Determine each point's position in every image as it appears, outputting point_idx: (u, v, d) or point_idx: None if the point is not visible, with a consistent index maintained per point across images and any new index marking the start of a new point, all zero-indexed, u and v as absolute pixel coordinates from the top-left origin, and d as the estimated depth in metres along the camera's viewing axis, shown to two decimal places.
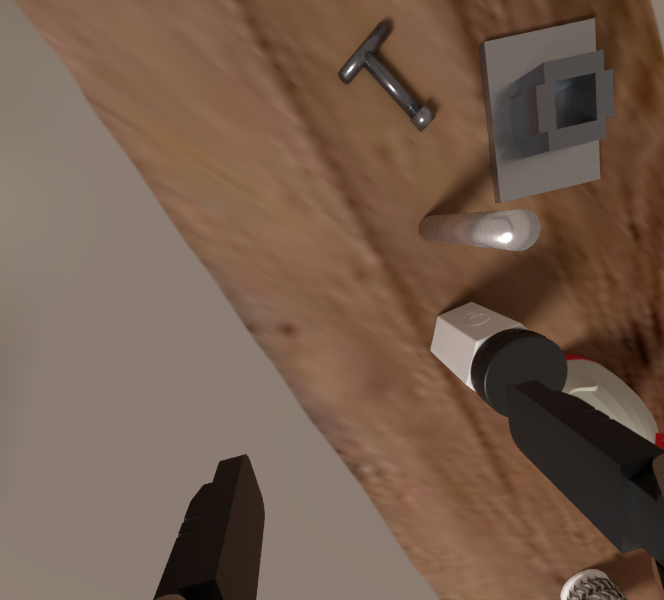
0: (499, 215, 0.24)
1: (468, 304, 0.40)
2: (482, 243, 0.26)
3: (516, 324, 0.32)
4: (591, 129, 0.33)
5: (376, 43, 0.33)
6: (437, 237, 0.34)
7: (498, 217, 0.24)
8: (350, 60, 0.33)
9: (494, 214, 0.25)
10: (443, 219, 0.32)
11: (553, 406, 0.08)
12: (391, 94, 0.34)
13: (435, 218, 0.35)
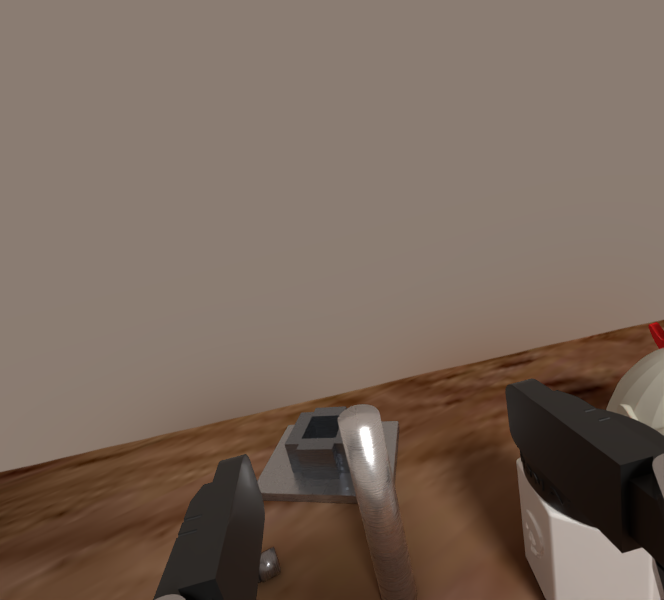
0: (342, 439, 0.22)
1: (528, 559, 0.26)
2: (377, 468, 0.22)
3: (518, 464, 0.24)
4: None
5: None
6: (395, 565, 0.24)
7: (343, 440, 0.22)
8: None
9: (344, 448, 0.23)
10: (369, 545, 0.24)
11: (553, 406, 0.08)
12: None
13: (374, 567, 0.25)
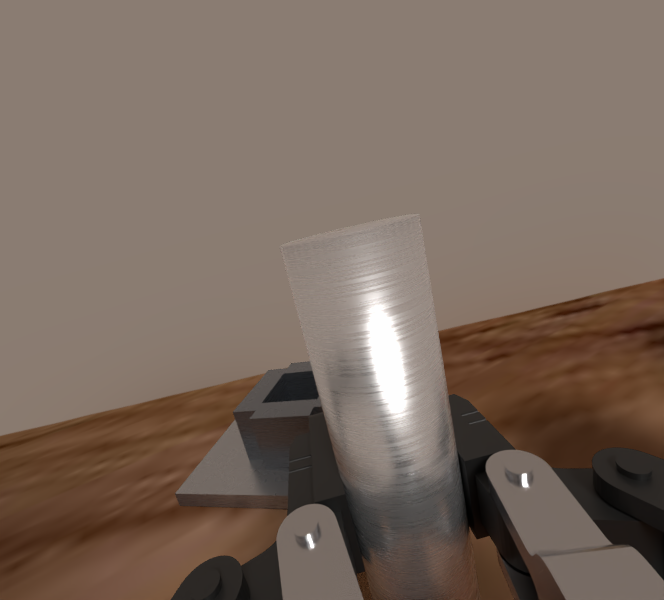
0: (296, 306, 0.07)
1: None
2: (414, 394, 0.06)
3: None
4: None
5: None
6: None
7: (297, 304, 0.07)
8: None
9: (304, 340, 0.07)
10: None
11: None
12: None
13: None
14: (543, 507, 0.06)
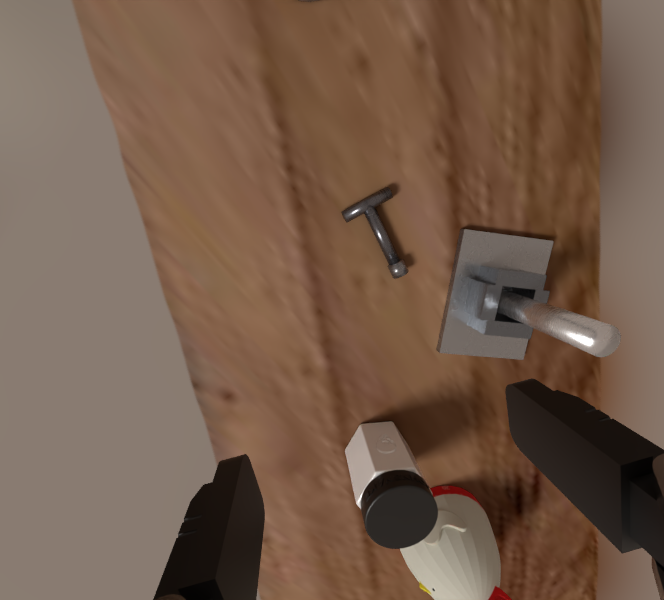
0: (589, 322, 0.29)
1: (388, 423, 0.46)
2: (561, 336, 0.31)
3: (411, 467, 0.38)
4: (521, 329, 0.40)
5: (379, 202, 0.39)
6: (506, 311, 0.39)
7: (587, 323, 0.28)
8: (354, 207, 0.39)
9: (582, 318, 0.29)
10: (519, 300, 0.37)
11: (553, 406, 0.08)
12: (379, 242, 0.40)
13: (508, 294, 0.39)
14: None
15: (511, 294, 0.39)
